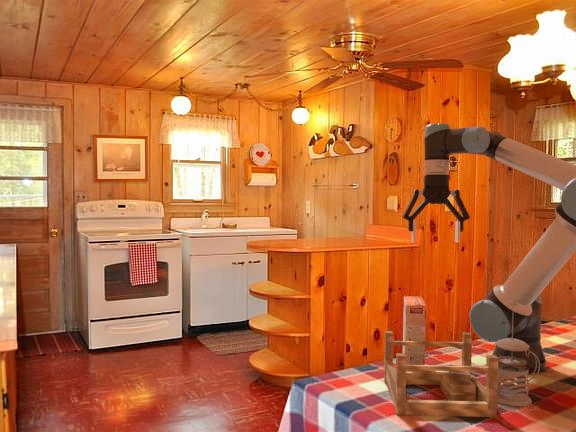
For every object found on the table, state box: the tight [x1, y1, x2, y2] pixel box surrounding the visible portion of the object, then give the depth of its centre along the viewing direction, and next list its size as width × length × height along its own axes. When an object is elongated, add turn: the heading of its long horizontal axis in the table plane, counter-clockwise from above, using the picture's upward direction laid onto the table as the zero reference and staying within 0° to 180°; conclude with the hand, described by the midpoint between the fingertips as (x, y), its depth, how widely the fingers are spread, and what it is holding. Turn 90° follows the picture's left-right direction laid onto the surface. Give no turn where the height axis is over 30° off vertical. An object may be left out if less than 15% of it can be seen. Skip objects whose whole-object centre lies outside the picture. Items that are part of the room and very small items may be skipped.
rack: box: [383, 330, 498, 418], centre depth 132 cm, size 23×22×14 cm
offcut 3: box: [440, 383, 476, 401], centre depth 133 cm, size 6×9×2 cm, turn 1°
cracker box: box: [402, 295, 427, 372], centre depth 152 cm, size 14×6×21 cm, turn 170°
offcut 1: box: [448, 364, 470, 385], centre depth 133 cm, size 5×7×2 cm
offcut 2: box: [442, 374, 476, 395], centre depth 133 cm, size 6×8×2 cm
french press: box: [494, 301, 540, 407], centre depth 132 cm, size 10×12×25 cm
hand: (435, 242), depth 163 cm, fingers open, 13 cm apart
